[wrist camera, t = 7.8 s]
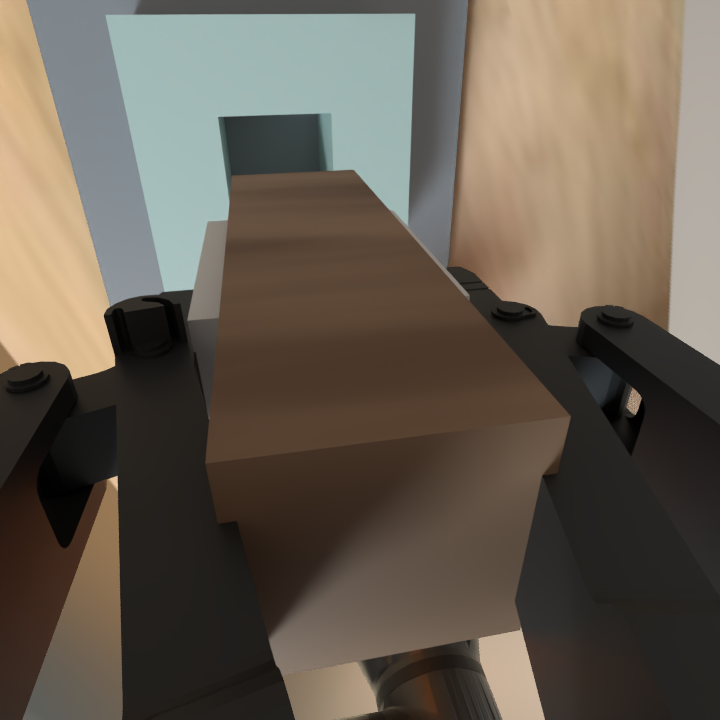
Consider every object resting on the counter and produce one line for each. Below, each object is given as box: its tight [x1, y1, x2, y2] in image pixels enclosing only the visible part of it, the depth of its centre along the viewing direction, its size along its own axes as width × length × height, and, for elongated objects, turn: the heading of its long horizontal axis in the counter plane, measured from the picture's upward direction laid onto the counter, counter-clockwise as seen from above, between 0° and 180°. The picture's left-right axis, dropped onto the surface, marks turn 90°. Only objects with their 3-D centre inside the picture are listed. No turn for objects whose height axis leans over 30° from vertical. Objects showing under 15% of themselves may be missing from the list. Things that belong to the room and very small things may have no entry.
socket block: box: [26, 0, 468, 307], centre depth 31 cm, size 24×24×8 cm
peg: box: [205, 170, 571, 676], centre depth 13 cm, size 4×4×14 cm
